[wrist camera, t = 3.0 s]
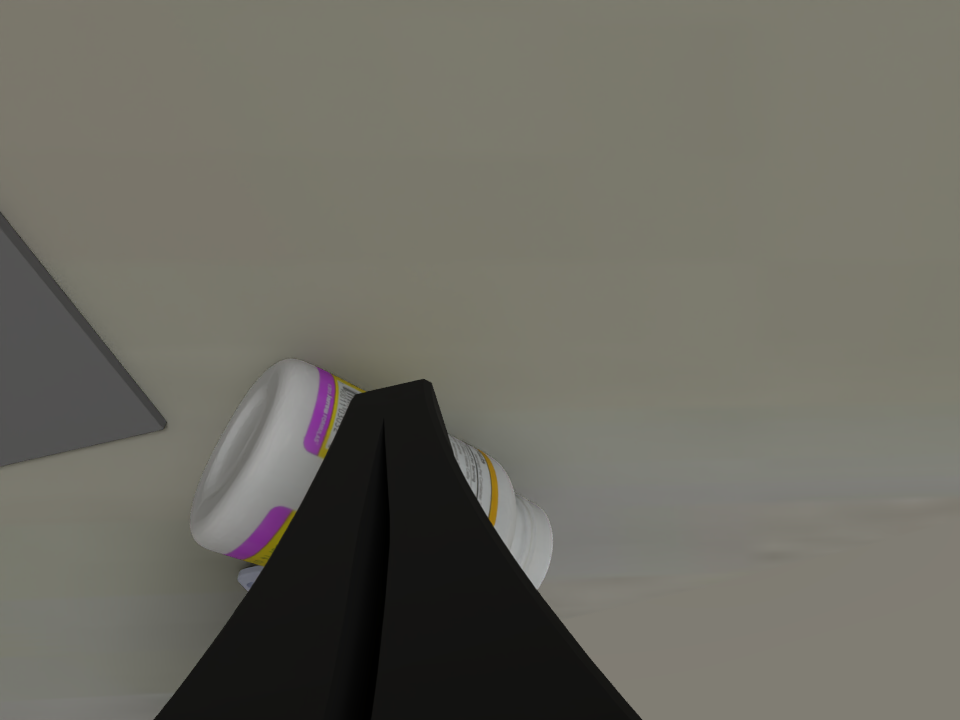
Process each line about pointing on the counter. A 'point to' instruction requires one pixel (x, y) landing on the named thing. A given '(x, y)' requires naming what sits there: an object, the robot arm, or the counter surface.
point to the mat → (56, 368)
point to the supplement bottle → (297, 458)
